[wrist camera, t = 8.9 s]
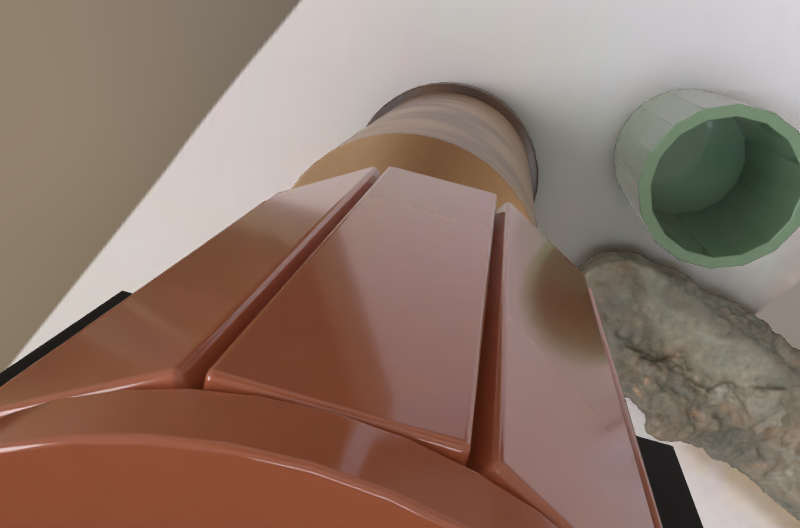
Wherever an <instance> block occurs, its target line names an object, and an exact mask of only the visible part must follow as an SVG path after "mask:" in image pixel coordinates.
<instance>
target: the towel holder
mask: <svg viewBox="0 0 800 528" xmlns="http://www.w3.org/2000/svg"><path fill="white" fill-rule="evenodd" d="M391 166H392V167H396V168H400V169H404V170H408V171H411V172H415V173H419V174H423V175H427V176H430V177H434V178H438V179H442V180H445V181H449V182H453V183H457V184H461V185H464V186H468V187H472V188H476V189H480V190H483V191H487V192H491V193H494V194H496V195H497V204H496V211H497V210H498V209H499V208H500V207H501V206H502V205H503V204H504V203H506V202H509V203H511V204H512V205H513V206H514V207H515V208H517V209H518V210H519V211H520V212H521V213H522V214H523V215H524V216H525V217H526V218H527V219H528V220H529V221H530V222H531V223H532V224H533V225H534V226H535V227H536V228H537V225H536V217H535V209H534V201H535V197H536V193H537V185H538V166H537V160H536V155H535V150H534V147H533V144H532V141H531V139H530V136H529V134H528V132H527V130H526V128H525V127H524V125H523V124H522V122H521V121H520V119H519V118H518V117H517V116H516V114H515V113H514V112H513V111H512V110H511V109H510V108H509V107H508V106H507V105H506V104H504V103H503V102H502V101H501V100H499V99H498V98H496V97H495V96H493V95H492V94H490V93H488V92H486V91H483V90H481V89H479V88H476V87H473V86H470V85H465V84H460V83H449V82H441V83H431V84H427V85H422V86H419V87H416V88H413V89H411V90H408V91H406V92H404V93H402V94H401V95H399V96H397V97H395V98H394V99H392V100H391V101H390V102H388V103H387V104H386V105H384V106H383V107H382V108H381V109H380V110H379V111H378V112H377V113H376V114H375V115H374V117H373V118H372V119H371V120H370V122H369V123H368V125H367V126H366V128H364V129H363V130H361V131H360V132H358V133H357V134H356V135H354V136H353V137H351V138H350V139H348V140H347V141H345V142H344V143H342V144H341V145H340V146H338V147H337V148H335V149H334V150H332V151H331V152H329V153H328V154H327V155H325V156H324V157H322V158H321V159H320V160H318V161H317V162H315V163H314V164H313V165H312V166H311V167H310V168H309V169H308V170H307V171H306V172H305V173H304V174H303V175H302V176H301V177H300V178H299V180H298V181H297V182H296V183H295V185H294V186H293V187H292V189H294V188H297V187H301V186H305V185H308V184H312V183H315V182H319V181H323V180H326V179H330V178H334V177H337V176H341V175H344V174H348V173H352V172H355V171H359V170H362V169H366V168H370V167H376V168H377V169H378V170H379V174H380V176H381V175H382V174H383V173H384V172H385V171H386V170H387V168H388V167H391Z"/></svg>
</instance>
